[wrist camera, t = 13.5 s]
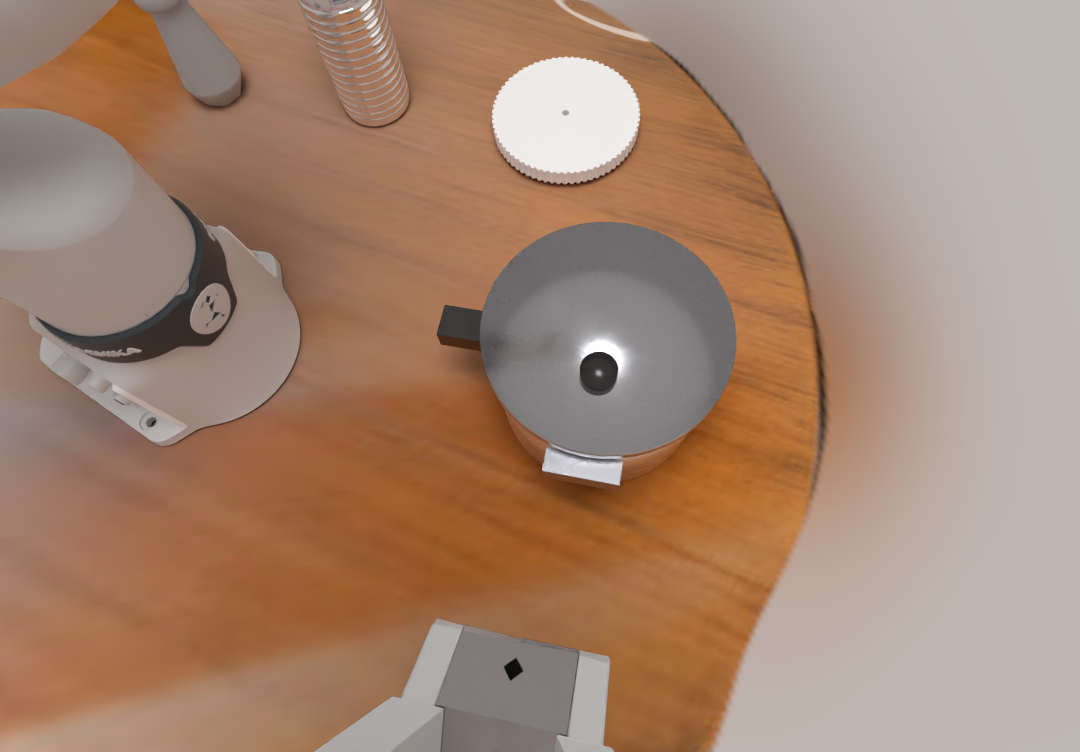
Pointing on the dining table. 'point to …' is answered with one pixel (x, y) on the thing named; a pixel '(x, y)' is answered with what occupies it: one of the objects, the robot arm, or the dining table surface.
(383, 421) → the dining table surface
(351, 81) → the water bottle
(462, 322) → the cooker pot
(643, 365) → the cooker lid
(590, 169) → the plastic lid
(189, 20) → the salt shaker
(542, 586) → the dining table surface
